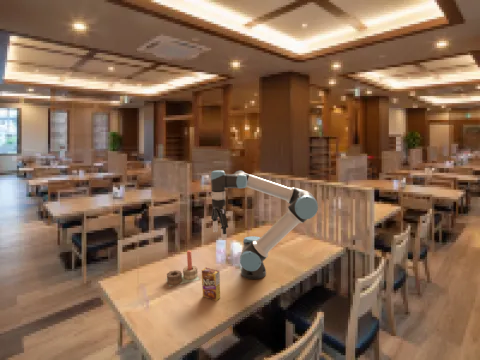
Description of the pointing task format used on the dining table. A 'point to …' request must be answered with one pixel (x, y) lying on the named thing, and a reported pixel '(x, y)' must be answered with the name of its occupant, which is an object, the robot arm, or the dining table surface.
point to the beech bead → (190, 273)
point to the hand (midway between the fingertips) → (219, 235)
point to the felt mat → (186, 280)
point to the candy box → (211, 283)
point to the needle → (189, 260)
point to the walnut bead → (174, 277)
